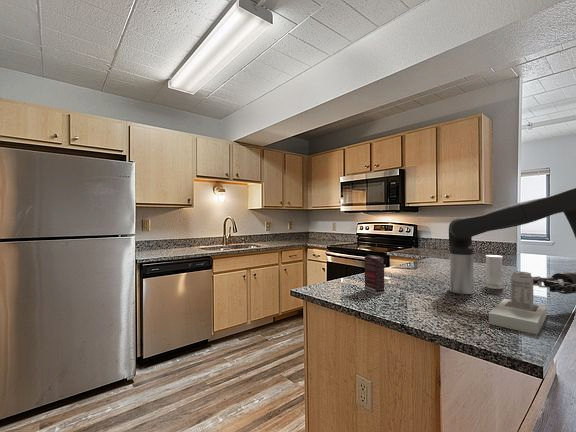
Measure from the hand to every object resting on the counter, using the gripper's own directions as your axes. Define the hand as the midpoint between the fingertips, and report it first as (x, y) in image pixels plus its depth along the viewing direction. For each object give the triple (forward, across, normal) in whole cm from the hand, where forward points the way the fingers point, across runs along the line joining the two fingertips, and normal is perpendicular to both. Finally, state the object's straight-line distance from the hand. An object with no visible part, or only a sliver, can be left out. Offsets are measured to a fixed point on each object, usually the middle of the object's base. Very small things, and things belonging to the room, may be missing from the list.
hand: (537, 285), depth 103 cm
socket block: (+12, +2, +10) cm, 16 cm away
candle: (-20, -33, +10) cm, 40 cm away
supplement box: (+38, -43, +10) cm, 58 cm away
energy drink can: (+7, 0, +10) cm, 12 cm away
